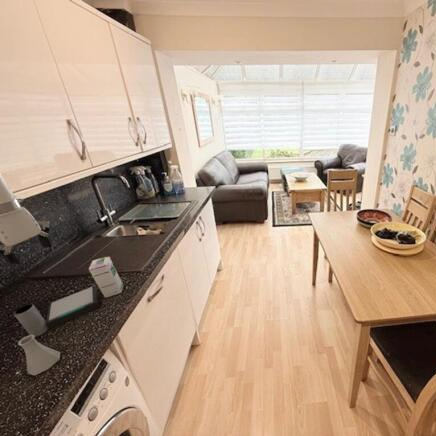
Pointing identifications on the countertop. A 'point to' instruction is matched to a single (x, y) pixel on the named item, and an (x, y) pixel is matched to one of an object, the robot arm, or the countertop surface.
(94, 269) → the syrup box
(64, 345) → the countertop surface
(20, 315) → the planter
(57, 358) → the flask
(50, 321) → the scale
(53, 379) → the countertop surface
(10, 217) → the robot arm
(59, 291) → the countertop surface
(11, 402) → the countertop surface
